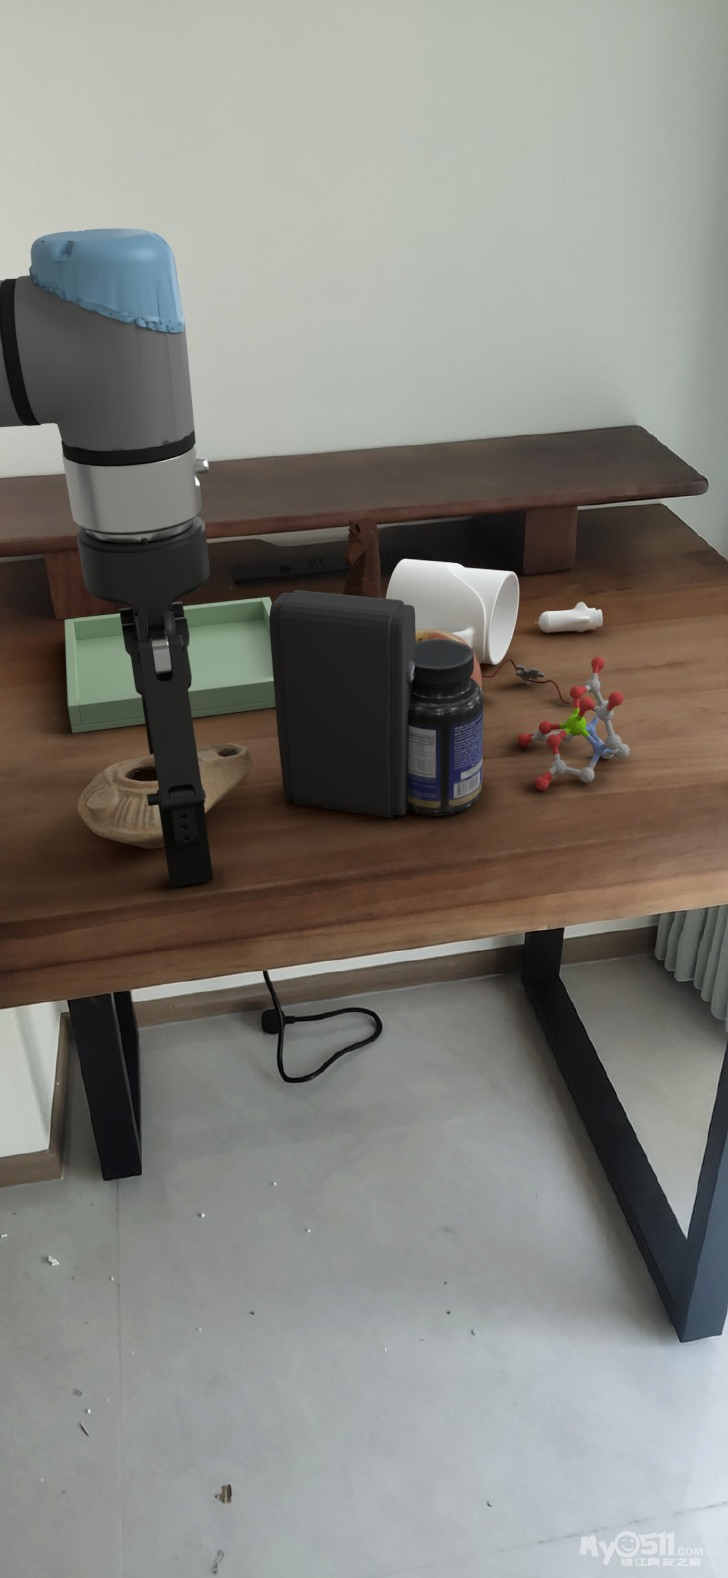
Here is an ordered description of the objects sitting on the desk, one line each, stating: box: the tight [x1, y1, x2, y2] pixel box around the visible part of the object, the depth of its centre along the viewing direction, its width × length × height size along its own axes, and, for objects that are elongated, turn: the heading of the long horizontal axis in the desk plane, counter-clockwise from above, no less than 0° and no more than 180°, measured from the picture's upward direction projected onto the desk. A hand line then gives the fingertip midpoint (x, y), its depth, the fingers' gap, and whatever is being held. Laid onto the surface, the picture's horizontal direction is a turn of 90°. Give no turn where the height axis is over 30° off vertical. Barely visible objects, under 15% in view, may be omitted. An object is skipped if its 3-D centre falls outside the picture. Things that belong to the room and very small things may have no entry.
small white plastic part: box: [536, 601, 603, 634], centre depth 106 cm, size 4×6×3 cm, turn 66°
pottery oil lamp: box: [77, 742, 254, 850], centre depth 79 cm, size 9×12×7 cm
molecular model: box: [517, 656, 631, 791], centre depth 84 cm, size 7×8×7 cm
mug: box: [385, 558, 520, 666], centre depth 99 cm, size 12×9×8 cm
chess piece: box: [342, 515, 383, 598], centre depth 107 cm, size 5×5×10 cm
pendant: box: [481, 658, 571, 705], centre depth 96 cm, size 8×4×3 cm
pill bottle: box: [408, 639, 485, 817], centre depth 80 cm, size 6×6×11 cm
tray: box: [64, 596, 276, 734], centre depth 101 cm, size 19×18×2 cm
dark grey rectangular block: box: [269, 589, 416, 818], centre depth 79 cm, size 9×4×15 cm, turn 72°
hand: (181, 825), depth 80 cm, fingers open, 13 cm apart
